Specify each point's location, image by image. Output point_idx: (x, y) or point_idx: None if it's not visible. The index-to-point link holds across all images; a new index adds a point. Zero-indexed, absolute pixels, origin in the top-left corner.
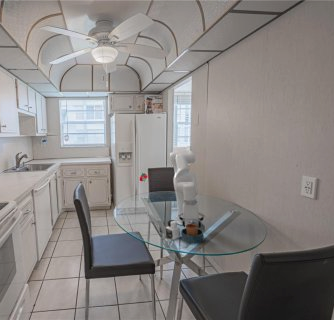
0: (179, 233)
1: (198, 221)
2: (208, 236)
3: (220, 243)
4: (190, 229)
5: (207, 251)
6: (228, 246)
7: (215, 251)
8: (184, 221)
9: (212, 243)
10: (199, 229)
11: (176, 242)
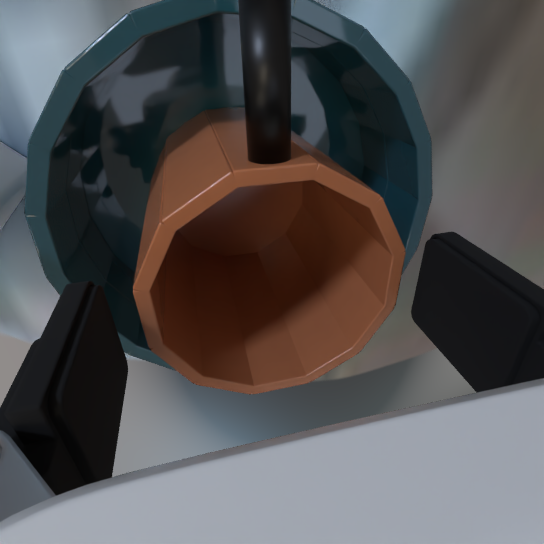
0: (7, 206)
1: (514, 364)
2: (454, 28)
3: (504, 215)
4: (248, 367)
5: (355, 373)
6: (538, 255)
7: (410, 355)
8: (95, 479)
9: (433, 234)
10: (395, 96)
11: (46, 315)
